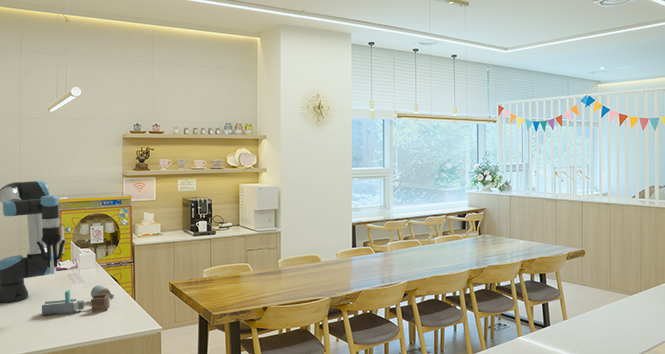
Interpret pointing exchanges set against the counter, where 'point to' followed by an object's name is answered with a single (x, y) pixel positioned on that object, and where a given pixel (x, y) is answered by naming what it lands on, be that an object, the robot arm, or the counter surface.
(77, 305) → the rod
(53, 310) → the channel
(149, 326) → the counter surface
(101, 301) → the socket
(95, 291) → the ceramic mug
